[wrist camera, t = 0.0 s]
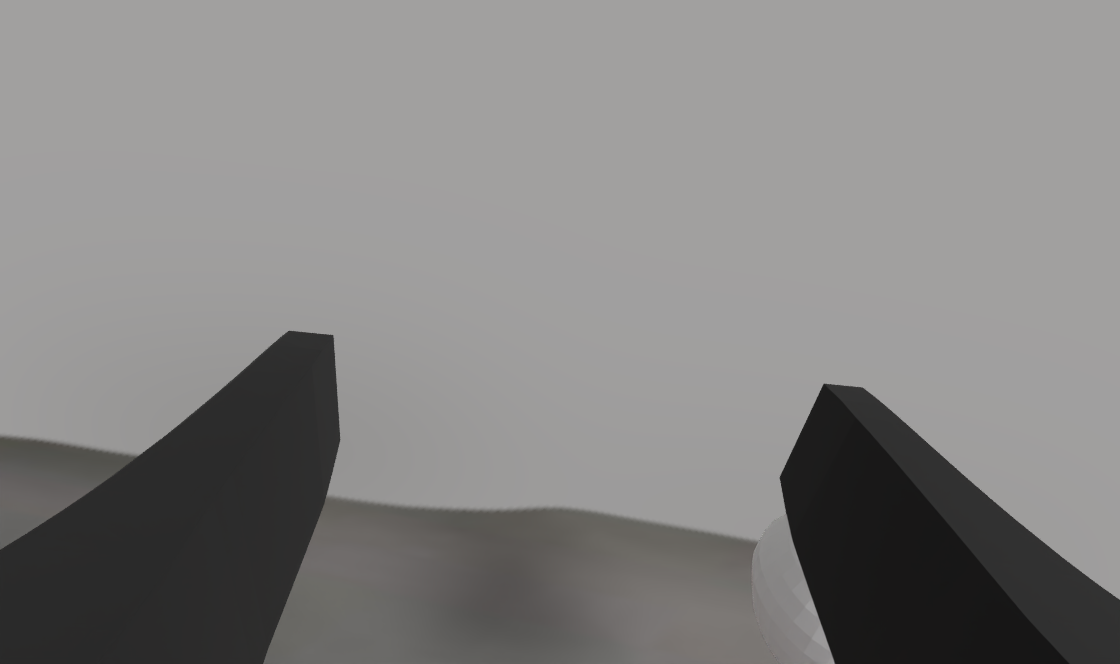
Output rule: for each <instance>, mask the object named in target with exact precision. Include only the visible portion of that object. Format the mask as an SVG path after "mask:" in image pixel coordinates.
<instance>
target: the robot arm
mask: <svg viewBox="0 0 1120 664" xmlns="http://www.w3.org/2000/svg"><path fill="white" fill-rule="evenodd" d="M339 442H340V430H339V414H338V399H337V384H336V368H335V353H334V338H333V335H326V334H316V333H306V332H296V331H288V332H287V333H285V334H284V335H283V336H282V337H280V338H279V339H278V340H277V341H276V342H275V343H273V344H272V345H271V346H270V347H269V348H268V349H267V350H266V351H264V352H263V353H262V354H261V355H260V356H259V357H258V358H256V359H255V360H254V361H253V362H252V363H251V364H250V365H249V366H248V367H246V368H245V369H244V370H243V371H242V372H241V373H240V374H239V375H237V376H236V377H235V378H234V379H233V380H232V381H230V382H229V383H228V384H227V385H226V386H225V387H224V388H222V389H221V390H220V391H219V392H218V393H217V394H215V395H214V396H213V397H212V398H211V399H209V400H208V401H207V402H206V403H205V404H203V405H202V406H201V407H200V408H199V409H197V410H196V411H195V412H194V413H193V414H191V415H190V416H189V417H188V418H187V419H185V420H184V421H183V422H182V423H181V424H179V425H178V426H177V427H176V428H174V429H173V430H172V431H171V432H169V433H168V434H167V435H166V436H164V437H163V438H162V439H160V440H159V441H158V442H156V443H155V444H154V445H153V446H151V447H150V448H149V449H147V450H146V451H145V452H143V453H142V454H141V455H139V456H138V457H137V458H135V459H134V460H133V461H131V462H130V463H129V464H127V465H126V466H125V467H123V468H122V469H121V470H120V471H118V472H117V473H116V474H114V475H113V476H112V477H110V478H109V479H107V480H106V481H105V482H103V483H102V484H100V485H99V486H97V487H96V488H95V489H93V490H92V491H90V492H89V493H88V494H86V495H85V496H83V497H82V498H80V499H79V500H77V501H76V502H74V503H73V504H71V505H70V506H69V507H67V508H66V509H64V510H63V511H61V512H60V513H58V514H56V515H55V516H53V517H52V518H50V519H49V520H47V521H46V522H44V523H42V524H41V525H39V526H38V527H36V528H35V529H33V530H32V531H30V532H28V533H27V534H25V535H24V536H22V537H21V538H19V539H17V540H16V541H14V542H12V543H11V544H9V545H7V546H6V547H4V548H2V549H1V550H0V664H263V662H264V659H265V656H266V653H267V650H268V648H269V645H270V642H271V640H272V637H273V635H274V632H275V630H276V627H277V625H278V622H279V619H280V617H281V614H282V612H283V609H284V607H285V604H286V601H287V599H288V596H289V594H290V591H291V589H292V586H293V583H294V581H295V578H296V576H297V573H298V571H299V568H300V565H301V563H302V560H303V558H304V555H305V553H306V550H307V547H308V545H309V542H310V540H311V537H312V534H313V532H314V529H315V527H316V524H317V521H318V519H319V516H320V513H321V511H322V508H323V505H324V502H325V499H326V495H327V491H328V487H329V483H330V479H331V475H332V472H333V467H334V463H335V459H336V455H337V451H338V447H339ZM780 481H781V487H782V492H783V498H784V503H785V509H786V514H787V519H788V523H789V528H790V532H791V537H792V541H793V544H794V547H795V550H796V553H797V556H798V559H799V562H800V565H801V568H802V571H803V574H804V577H805V580H806V583H807V585H808V588H809V591H810V594H811V597H812V600H813V603H814V606H815V608H816V611H817V614H818V617H819V620H820V623H821V626H822V628H823V631H824V634H825V637H826V640H827V643H828V646H829V648H830V651H831V654H832V657H833V660H834V663H835V664H1120V600H1119V599H1118V598H1116V597H1115V596H1113V595H1112V594H1111V593H1109V592H1108V591H1106V590H1105V589H1103V588H1102V587H1101V586H1099V585H1098V584H1097V583H1095V582H1094V581H1093V580H1091V579H1090V578H1089V577H1087V576H1086V575H1085V574H1083V573H1082V572H1081V571H1079V570H1078V569H1077V568H1075V567H1074V566H1073V565H1071V564H1070V563H1069V562H1067V561H1066V560H1065V559H1064V558H1062V557H1061V556H1060V555H1059V554H1057V553H1056V552H1055V551H1054V550H1052V549H1051V548H1050V547H1049V546H1047V545H1046V544H1045V543H1044V542H1042V541H1041V540H1040V539H1039V538H1037V537H1036V536H1035V535H1034V534H1032V533H1031V532H1030V531H1029V530H1028V529H1026V528H1025V527H1024V526H1023V525H1021V524H1020V523H1019V522H1018V521H1016V520H1015V519H1014V518H1013V517H1012V516H1010V515H1009V514H1008V513H1007V512H1006V511H1004V510H1003V509H1002V508H1001V507H1000V506H999V505H997V504H996V503H995V502H994V501H993V500H992V499H990V498H989V497H988V496H987V495H986V494H985V493H983V492H982V491H981V490H980V489H979V488H978V487H976V486H975V485H974V484H973V483H972V482H971V481H969V480H968V479H967V478H966V477H965V476H964V475H963V474H961V473H960V472H959V471H958V470H957V469H956V468H955V467H954V466H953V465H951V464H950V463H949V462H948V461H947V460H946V459H945V458H944V457H943V456H941V455H940V454H939V453H938V452H937V451H936V450H935V449H933V448H932V447H931V446H930V445H929V444H928V443H927V442H926V441H925V440H924V439H922V438H921V437H920V436H919V435H918V434H917V433H916V432H915V431H913V430H912V429H911V428H910V427H909V426H908V425H907V424H906V423H904V422H903V421H902V420H901V419H900V418H899V417H898V416H897V415H895V414H894V413H893V412H892V411H891V410H890V409H888V408H887V407H886V406H885V405H884V404H883V403H881V402H880V401H879V400H878V399H876V398H875V397H874V396H873V395H871V394H870V393H869V392H868V391H866V390H865V389H864V388H861V387H852V386H841V385H831V384H824V385H823V387H822V389H821V391H820V393H819V395H818V397H817V399H816V402H815V404H814V406H813V408H812V410H811V412H810V414H809V416H808V418H807V421H806V423H805V425H804V427H803V429H802V431H801V433H800V435H799V438H798V440H797V442H796V444H795V446H794V448H793V450H792V452H791V454H790V457H789V459H788V461H787V463H786V465H785V468H784V470H783V471H782V474H781V476H780Z"/></svg>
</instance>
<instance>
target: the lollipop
mask: <svg viewBox="0 0 1120 664" xmlns="http://www.w3.org/2000/svg"><path fill="white" fill-rule="evenodd" d="M752 596H753V606H754V612H755V615H756V618H757V621H758V624H759V627H760V630H761V633H762V636H763V638H764V640H765V642H766V644H767V646H768V647H769V649H770V651H771V652H772V654H773V655H774V656H775V658H776V659H777V660H778V662H779V663H780V664H835V663H834V660H833V657H832V654H831V651H830V648H829V646H828V643H827V640H826V637H825V634H824V631H823V628H822V626H821V623H820V620H819V617H818V614H817V611H816V608H815V606H814V603H813V600H812V597H811V594H810V591H809V588H808V585H807V583H806V580H805V577H804V574H803V571H802V568H801V565H800V562H799V559H798V556H797V553H796V550H795V547H794V544H793V541H792V537H791V532H790V528H789V523H788V519H787V514H785V515H783V516H781V517H780V518H778V519H776V520H775V521H773V522H772V523H771V525H770V526H769V527H768V528H767V529H766V530H765V532H764V534H763V535H762V537H761V538H760V540H759V542H758V544H757V546H756V549H755V551H754V553H753V561H752Z"/></svg>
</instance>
